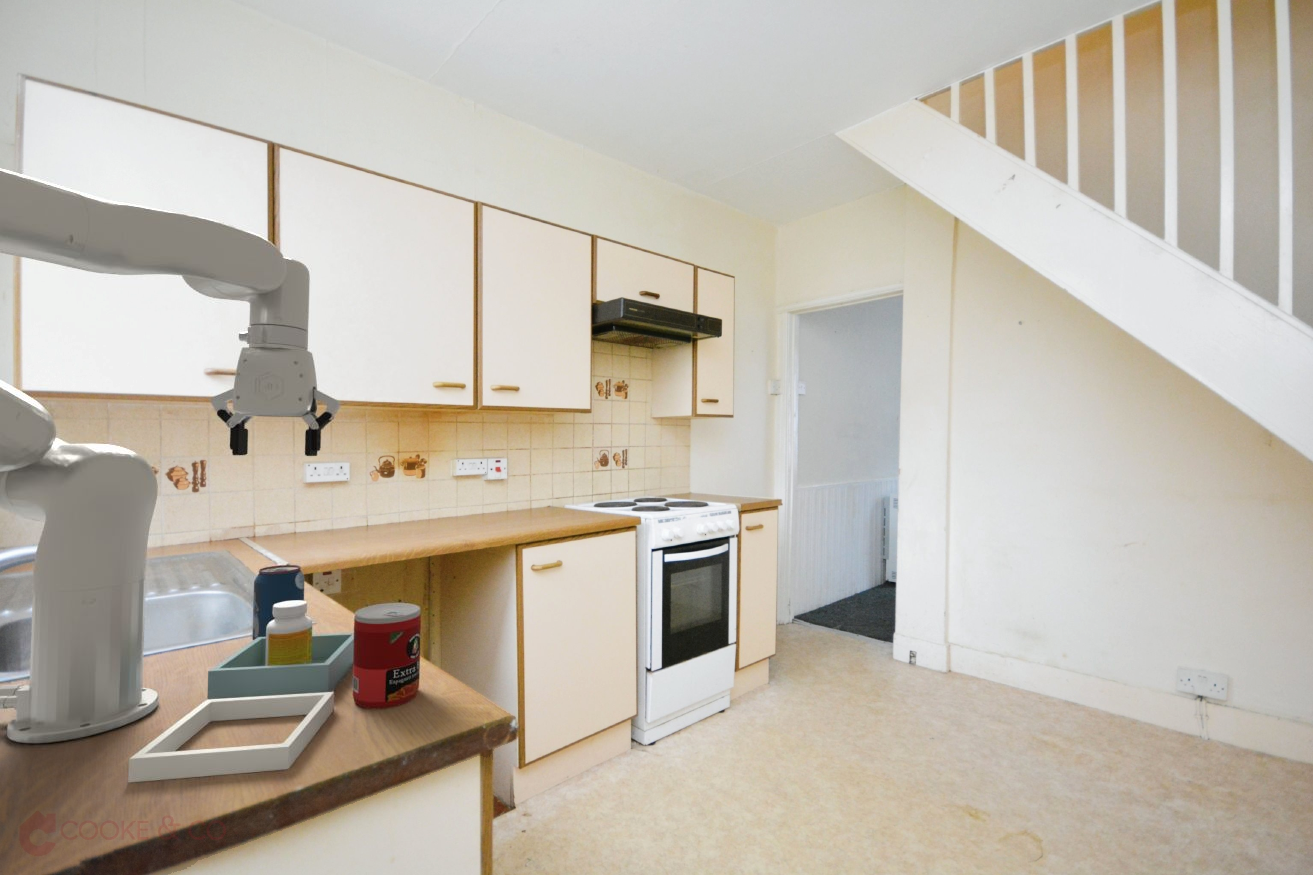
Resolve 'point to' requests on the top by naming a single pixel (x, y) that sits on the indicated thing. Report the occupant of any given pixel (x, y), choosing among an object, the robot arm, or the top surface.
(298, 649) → the supplement bottle
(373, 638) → the canned food
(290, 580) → the soda can
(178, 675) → the top surface
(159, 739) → the white frame
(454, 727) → the top surface
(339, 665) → the teal bin
